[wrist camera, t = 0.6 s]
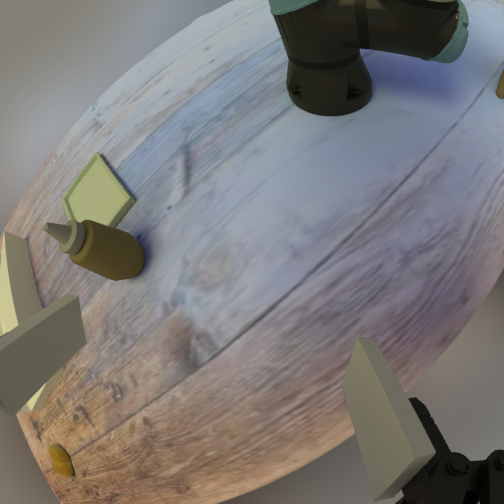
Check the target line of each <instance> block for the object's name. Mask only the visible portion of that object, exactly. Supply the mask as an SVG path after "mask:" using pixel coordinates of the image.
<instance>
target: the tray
mask: <svg viewBox="0 0 504 504" xmlns="http://www.w3.org/2000/svg"><path fill="white" fill-rule="evenodd" d="M135 202H136V201H135V199H134V198H133V197H132V196H131V194H130V193H129V192H128V190H127V189H126V188H125V186H124V185H123V184H122V183H121V181H120V180H119V179H118V177H117V176H116V175H115V173H114V172H113V171H112V169H111V168H110V167H109V165H108V164H107V162H106V161H105V160H104V158H103V157H102V156H101V155H100V154H99V153H98V152H96V153H95V154H94V155H93V157H92V158H91V159H90V160H89V162H88V163H87V164H86V166H85V167H84V168H83V170H82V171H81V172H80V174H79V175H78V176H77V178H76V179H75V181H74V182H73V183H72V185H71V186H70V188H69V189H68V191H67V192H66V194H65V195H64V197H63V198H62V203H63V205H64V208H65V211H66V214H67V216H68V219H69V220H76V221H78V222H82V221H84V220H92V221H95V222H98V223H101V224H104V225H107V226H110V227H113V228H116V226H117V225H118V224H119V222H120V221H121V220H122V218H123V217H124V216H125V215H126V213H127V212H128V211H129V210H130V208H131V207H132V206H133V205H134V203H135Z"/></svg>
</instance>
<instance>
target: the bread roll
mask: <svg viewBox="0 0 504 504" xmlns="http://www.w3.org/2000/svg"><path fill="white" fill-rule="evenodd" d="M49 454H50V456H51V458H52V464H53V467H54V469H55V471H56V472H57V473H59V474H60V475H62V476H64V477H67V478H70V477H72V475H73V467H72V465H71V460H70V458H69V456H68V454H67V453H66V452H65V450H64V449H63V448H62V447H61V446H59V445H52V446H51V447H50V449H49Z"/></svg>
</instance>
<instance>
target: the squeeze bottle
mask: <svg viewBox="0 0 504 504" xmlns="http://www.w3.org/2000/svg"><path fill="white" fill-rule="evenodd" d="M45 231H46V232H47V233H48V234H50V235H51V236H52V237H54V238H55V239H56V240H58V241H59V248H60V250H61V251H62V252H64V253H67V254H69V255H70V259H71V260H72V262H73V263H75V264H77V265H79V266H81V267H84V268H86V269H88V270H90V271H92V272H95V273H97V274H99V275H101V276H104V277H106V278H108V279H111V280H115V281H117V280H123V279H129V278H132V277H135V276H136V275H138V274H139V273H140V271H141V269H142V268H143V265H144V261H145V256H144V251H143V249H142V247H141V246H140V245H139V244H138V242H137V241H136V240H135V239H134V238H133V236H131V235H130V234H129V233H128V232H125V231H122V230H119V229H116V228H113V227H110V226H107V225H104V224H101V223H98V222H95V221H92V220H84V221H82V222H78V221H76V220H69V221H68V222H67V223H66V224H65V225H61V224H55V223H47V224H46V226H45Z"/></svg>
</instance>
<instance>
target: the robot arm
mask: <svg viewBox="0 0 504 504" xmlns="http://www.w3.org/2000/svg"><path fill="white" fill-rule="evenodd" d="M268 1H269V4H270V7H271V13H272V15H273V16H274V19H275V22H276V24H277V27H278V30H279V32H280V35H281V38H282V41H283V44H284V47H285V50H286V52H287V55H288V59H289V61H288V70H287V80H286V85H287V89H288V93H289V96H290V98H291V100H292V101H293V102H294V104H295V105H297V106H298V107H299V108H301V109H303V110H305V111H307V112H310V113H313V114H318V115H325V116H337V115H344V114H348V113H352V112H354V111H356V110H358V109H360V108H362V107H363V106H364V105H365V104H367V102H368V101H369V100H370V98H371V95H372V81H371V77H370V74H369V72H368V70H367V68H366V66H365V63H364V61H363V59H362V57H361V55H360V49H369V50H377V51H384V52H391V53H396V54H402V55H407V56H412V57H417V58H421V59H422V60H426V61H427V60H428V61H437V62H441V63H451V62H453V61H455V60H456V59H458V58H459V56H460V55H461V53H462V52H463V50H464V48H465V45H466V42H467V37H468V31H467V26H468V24H469V23H468V14H467V11H466V8H465V6H464V4H463V3H462V2H461V0H268ZM85 344H86V338H85V333H84V328H83V322H82V316H81V310H80V303H79V296H76V295H72V294H66V295H64V296H63V297H61V298H60V299H58V300H56V301H55V302H53V303H52V304H50V305H48V306H47V307H45V308H44V309H42V310H41V311H39V312H37V313H36V314H34V315H33V316H31V317H30V318H28V319H27V320H25V321H24V322H22V323H21V324H19V325H18V326H16V327H15V328H13V329H12V330H10V331H9V332H6V333H5V334H3V335H2V336H1V337H0V409H1V410H2V411H3V412H4V413H5V414H7V415H8V416H9V417H10V418H13V417H14V416H15V415H16V414H17V413H18V412H19V410H20V409H21V408H22V407H23V406H24V405H25V404H26V403H27V402H28V401H29V400H30V399H31V398H32V397H33V396H34V395H35V394H36V393H37V392H38V390H39V389H40V388H41V387H42V386H43V385H44V384H45V383H46V382H47V381H48V380H49V379H50V378H51V377H52V376H53V375H54V374H55V373H56V372H57V371H58V370H59V369H60V368H61V367H62V366H63V365H64V364H65V363H66V362H67V361H68V360H70V359H71V358H72V357H73V356H74V355H75V354H76V353H77V352H78V351H79V350H80V349H81V348H82V347H83V346H84V345H85ZM341 386H342V389H343V392H344V396H345V399H346V402H347V405H348V409H349V412H350V416H351V419H352V422H353V426H354V429H355V433H356V436H357V440H358V443H359V447H360V450H361V454H362V458H363V462H364V465H365V470H366V473H367V477H368V481H369V485H370V489H371V494H372V498H373V501H378V500H383V499H387V498H391V497H394V496H395V495H396V494H397V493H398V492H399V491H400V490H401V489H402V491H403V494H404V496H403V497H402V498H401V499H400V500H399V501H398V502H396V503H395V504H478V502H479V501H480V504H504V450H495V451H494V452H492V453H491V454H490V455H489V456H488V457H487V459H486V460H480V461H469V459H468V458H467V457H466V456H464V455H463V454H461V453H456V452H451V451H450V449H449V447H448V445H447V444H446V442H445V440H444V438H443V436H442V434H441V433H440V431H439V429H438V427H437V425H436V424H434V423H435V422H434V420H433V418H432V417H430V413H429V411H428V410H427V408H426V406H425V405H424V404H423V403H422V402H421V401H419V400H418V399H417V398H408V397H407V396H406V394H405V392H404V390H403V389H402V387H401V385H400V383H399V381H398V380H397V378H396V376H395V374H394V373H393V371H392V369H391V368H390V366H389V364H388V362H387V361H386V359H385V357H384V356H383V354H382V352H381V351H380V349H379V347H378V346H377V344H376V342H375V341H374V339H373V338H357V341H356V344H355V348H354V351H353V354H352V357H351V360H350V363H349V365H348V368H347V371H346V374H345V377H344V379H343V382H342V385H341Z"/></svg>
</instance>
